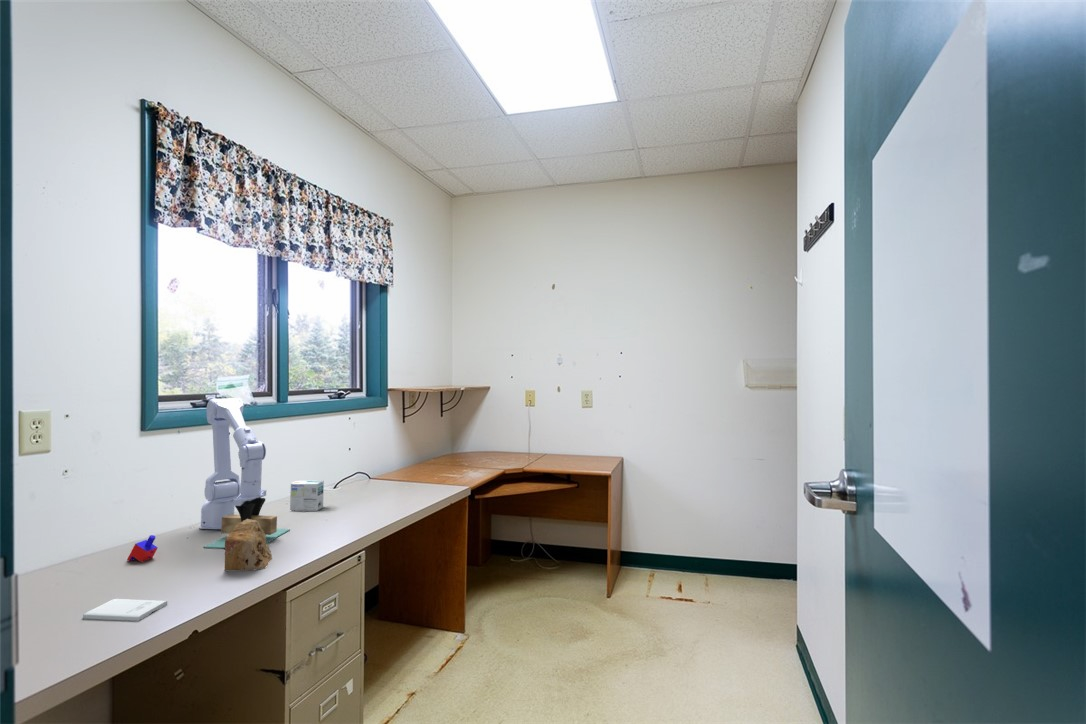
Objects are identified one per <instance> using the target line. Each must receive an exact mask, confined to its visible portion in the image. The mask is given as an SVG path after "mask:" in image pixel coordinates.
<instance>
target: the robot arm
mask: <svg viewBox="0 0 1086 724" xmlns="http://www.w3.org/2000/svg"><path fill="white" fill-rule="evenodd" d="M244 407H245V406H244V402H243V400H242V399H241V397H240V398H239V397H237V398H210V399H209V400H208V402H207V405H206V420H207V423H208V424H209V425H211V427H212V440H213V441H212V442H213V443H212V445H213V446H212V447H213V463H214V464H213V465H214V466H213V467H214V468H213V469H214V472H213V473H212V474H211V475H209V477H207V478H206V479H205V484H204V485H205V486H204V487H205V488H204V498H205V499H206V501H205V502H203V503H202V506H201V509H200V526H198V529H199V530H200V529H201V530H221V528H222V517H224V516H227V515H235V509H236V511H238V515H240V517H241V521H242V522H243V521H244V520H246V519H251V516H252V515H260V512H261V510H262V507H263V505H264V504H265V502H266V498H265V497H266V496H267V489H262V469H263V468H262V467H263V460H264V459H265V458H266V456H267V455H266V454H267V449H266V445H265V443H264V442H263V441H261V440H258V439H257V437H256V435H255V433H254V431H253V429H252V428H251V427H249V426H247V425H246V421H245V419H244V416H243V412H244ZM230 426H231V428H232V429H233V431H234V432H233V434H232V437H233V439H234V441H235V444H236V446H237V447H238V453H237V454H238V458H239V466H240V468H241V470H240V471H241V473H240V475H238V474H237V473H236V472H234V471H232V462H231V461H232V460H231V445H230V441H231V439H230Z"/></svg>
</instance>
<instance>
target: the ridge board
mask: <svg viewBox="0 0 1086 724" xmlns="http://www.w3.org/2000/svg"><path fill="white" fill-rule="evenodd" d="M290 531H291V529H290V528H277V532H275V533H273V534H271V535H266V544H268V543H270V542H272V541H274V540H276V539H277V538H279V537H281V536H283V535H285V534H287V532H290ZM228 535H229V534H228ZM228 535H225V536H223V537H221V538H219V539H218V540H215V541H213V542H210V543H209V544H207V545H204V546H203V549H218V548H225V539H226V537H227V536H228ZM278 536H279V537H278ZM273 539H274V540H273ZM271 540H272V541H271ZM269 541H270V542H269ZM267 542H268V543H267Z"/></svg>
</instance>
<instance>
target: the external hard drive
mask: <svg viewBox="0 0 1086 724" xmlns="http://www.w3.org/2000/svg"><path fill="white" fill-rule="evenodd" d="M165 605H166V606H168V600H153V599H152V600H150V599H149V600H148V599H131V598H129V599H128V598H127V599H126V598H113V599H111V600H109V601H107V602H104V603H103V604H100V605H99V606H97V607H95V608H92V609H90V610H88V611H87V612H85V613H83V615H82V619H83V620H84V619H86V620H104V621H105V620H106V621H128V620H129V621H131V620H132V621H131V622H133V621H134V622H139V621H141V620H143V619H145V618H146V617H148V616H150V615H151V614H153V613H154V612H157V611H158V609H159V610H160V609H162V608H164V607H165ZM163 606H164V607H163ZM156 610H157V611H156ZM152 612H153V613H152ZM149 614H150V615H149ZM147 615H148V616H147ZM144 617H145V618H144ZM142 618H143V619H142ZM140 619H141V620H140Z"/></svg>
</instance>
